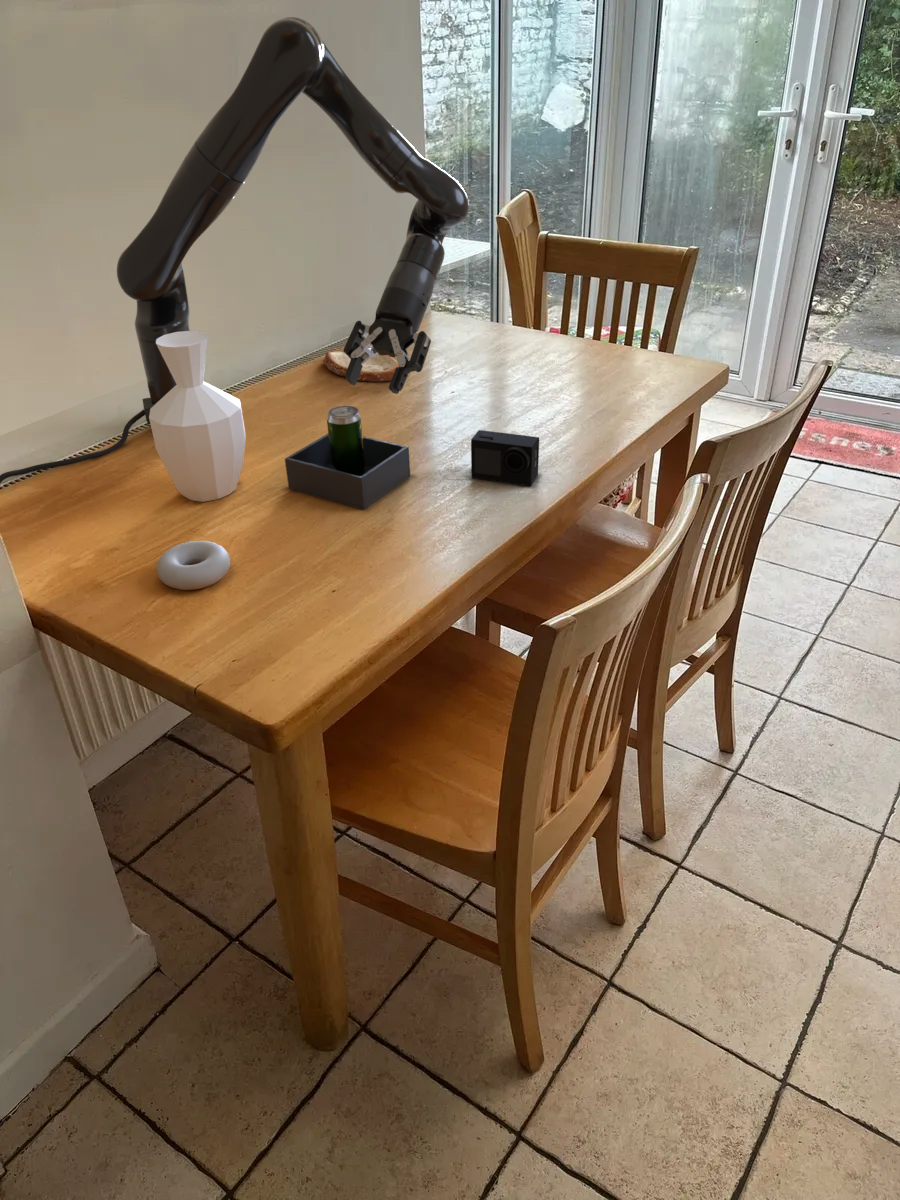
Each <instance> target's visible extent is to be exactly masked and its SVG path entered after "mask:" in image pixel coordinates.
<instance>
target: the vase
mask: <svg viewBox="0 0 900 1200" xmlns="http://www.w3.org/2000/svg"><path fill="white" fill-rule="evenodd" d="M156 345H157V347H158V349H159V351H160V352H161V354H162V356H163V358H164V360H165V362H166V364H167V366H168V368H169V370H170V372H171V374H172V376H173V378H174V380H175V382H176V384H177V385H176V386H175V387H173V388H172V389H171V390H170V391H169V392H168V393H167V394H166V395H165V396H164V397H163V398H162V399H160V400H159V401H158V402H157V403H156V404H155V405H154V406H153V407H152V408H151V409H150V415H149V420H150V424H149V425H150V427H151V433H152V437H153V441H154V442H153V443H154V446H155V450H156V452H157V454H158V456H159V458H160V460H161V462H162V464H163V466H164V468H165V470H166V472H167V473H168V475H169V477H170V479H171V481H172V484H173V485H174V487H175V490H176V492H177V493H179V494H181V495H182V496H183V497H184V498H186V499H188V500H190V501H195V502H202V503H205V502H208V501H209V502H211V501H215V500H220V499H223V498H224V497H227V496H229V495H231V494H232V493H233V492H235V490H236V489H237V487H238V484H239V480H240V476H241V474H242V471H243V466H244V460H245V450H246V442H247V441H246V439H247V438H246V427H245V422H244V416H243V415H244V414H243V409H242V404H241V399H240V398H237V397H236V396H233V395H231V394H230V393H228V392H226V391H224V390H222V389H220V388H218V387H216V386H214V385H212V384H210V383H208V382H206V381H204V380H205V369H206V358H207V347H208V333H205V332H202V331H196V330H190V331H182V332H174V333H170V334H166V335H163V336H161V337H159V338H158V339H156Z"/></svg>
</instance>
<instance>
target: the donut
mask: <svg viewBox="0 0 900 1200" xmlns="http://www.w3.org/2000/svg"><path fill="white" fill-rule="evenodd" d="M230 568H231V556H230V554H229V552H228V551H227V549H225V548H224V546H222V545H220V544H218V543H216V542H214V541H208V540H193V541H186V542H183V543H179V544H176V545H174V546H172V547H170V548H168V549H167V550H166V551H164V553H162V554H161V556H160V557H159V559H158V560H157V563H156V574H157V577H158V578H159V579H160V581H161V582H162V583H163V584H165V585H167V586H168V587H169V588H172V589H176V590H181V591H182V590H183V591H186V590H187V591H193V590H199V589H200V590H201V589H203V588H207V587H210V586H212V585H214V584H216V583H218V582H220V581H221V580H222V579H223V578H224V577H225V576H226V575H227V573H228V571H229V570H230Z"/></svg>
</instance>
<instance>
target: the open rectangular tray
mask: <svg viewBox="0 0 900 1200" xmlns="http://www.w3.org/2000/svg"><path fill="white" fill-rule="evenodd" d="M362 438H363V449H364V461H365V472H366V473H365V474H364V475H362V476H357V475H353V474H349V473H346V472H342V471H338V470H334V469H332V461H331V452H330V443H329V434H328V433H326V434H324V435H323V436H321V437H319V438H317V439H316V440H314V441H313V442H311V443H309V444H308V445H306V446H304V447H302V448H300V449H299V450H297V451H296V452H294V453H292V454H290V455H289V456H287V457H285V458H284V463H285V469H286V478H287V485H288V489H289V490H292V491H295V492H299V493H303V494H306V495H310V496H313V497H317V498H321V499H324V500H328V501H332V502H335V503H339V504H343V505H346V506H349V507H353V508H356V509H360V510H367V508H369V507H370V506H372V505H373V504H374V503H376V502H377V501H378V500H381V498H383V497H384V496H386V495H387V494H389V493H390V492H391V491H393V490H394V489H395V488H397V487H398V486H400V485H401V484H403V483H404V482H405V481H407V480H408V479H410V477H411V463H410V447H409V446H407V445H402V444H398V443H395V442H389V441H385V440H381V439H376V438H372V437H368V436H364V435H362Z"/></svg>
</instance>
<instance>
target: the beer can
mask: <svg viewBox="0 0 900 1200" xmlns="http://www.w3.org/2000/svg"><path fill="white" fill-rule="evenodd" d="M326 424H327V434H329V443H330V452H331V461H332V469H334V470H338V471H342V472H346V473H349V474H353V475H357V476H362V475H364V474H365V473H366V472H365V461H364V449H363V438H362V436H363V430H362V429H363V428H362V416H361V414H360V411H359V409H358V407H356V406H352V405H339V406H335V407H332V408H329V410H327V417H326Z"/></svg>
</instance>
